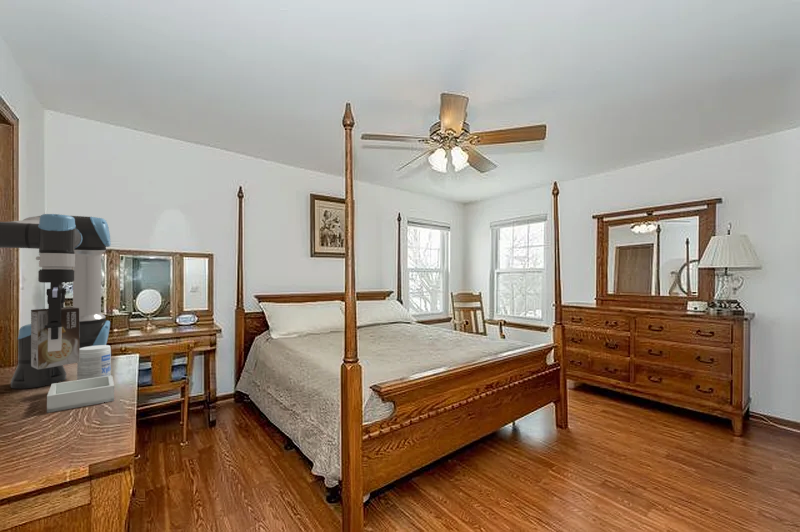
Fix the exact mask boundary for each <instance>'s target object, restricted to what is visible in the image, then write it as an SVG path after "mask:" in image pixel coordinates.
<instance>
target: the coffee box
mask: <svg viewBox="0 0 800 532" xmlns="http://www.w3.org/2000/svg"><path fill="white" fill-rule="evenodd" d="M47 323H48V308H37V309H36V308H35V309H31V310H30V324H31V366H32V367H34V368H36V369H44V368H50V367H56V366H61V365H63V366H65V365H67V366H68V365H72V364H77V363H79V362H80V339H79V336H80V334H79V308H75V307H73V306H69V307H64V308H62V309H61V327H62V340H61V351H51V352H48V328H45V325H47Z"/></svg>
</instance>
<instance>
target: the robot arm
mask: <svg viewBox="0 0 800 532" xmlns="http://www.w3.org/2000/svg"><path fill="white" fill-rule="evenodd" d="M111 243H112V242H111V233H110V229H109V225H108V222H107V220H106V219H104V218H102V217H98V216H97V217H96V216H85V215H83V216H81V215H80V216H79V215H66V214H60V213H58V214H56V213H43V214H41V215H37V216H29V217H26V218H24V219H23V220H14V221H0V248H2V249H35V250H36V249H38V256H36V257H35V260H36V261H38V267H39V268H40V269H39V270H38V272H37V273H38V278H37V279H38V282H39V283H45V284H47V283H50V286H49V287H50V288H47V289H46V293H45V294H46V297H47V299H46V302H47V304H48V308H47V309H48V323H47V325H45V328H48V352H51V351H61V340H62V327H61V309H62V308H65V307H64V305H65V303H66V295H67V288H64V285H63V283H72V307H75V308H79V334H80V336H79V339H80V348H83V347H88V346H96V345H107V343H108V339H109V335H110V328H111V321H110V320H108V319H107V320H106V317H107V316H106V315H105V314H103V313H102V255H103V254H105V252H106V251H107V248H108V247H111ZM17 344H18V345H17V348H18V349H17V354H18V355H17V367H16V368H15V371H14V373H13V375H12V377H11V380H10V388H11V389H17V390H19V389H22V390H23V389H31V388H32V389H34V388H40V387H45V385H46V386H51V385H50V384H54V383H57V382H58V383H61V382H64V381H65V380H66V379H67V371H66V370H65V367H64V365H61V366H56V367H50V368H44V369H36V368H34V367H32V366H31V323H29V324H26V325H23V326H21V327H20V328H19V329H18V337H17ZM63 380H64V381H63ZM60 381H61V382H60Z"/></svg>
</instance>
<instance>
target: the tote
mask: <svg viewBox="0 0 800 532" xmlns="http://www.w3.org/2000/svg"><path fill="white" fill-rule="evenodd" d="M113 376H114V375H113V374H112V375H109V376H102V377H95V378H88V379H81V380H69V381H61V382H58V383H54V384H51V385H50V387H49V389H48V392H47V395H46V414H48V413H54V412H60V411H64V410H70V409H71V410H73V409H76V408H81V407H86V406H87V407H88V406H94V405H98V404H105V403H110V402H114V401H115V382H114V377H113ZM104 402H105V403H104Z"/></svg>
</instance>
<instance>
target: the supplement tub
mask: <svg viewBox="0 0 800 532" xmlns="http://www.w3.org/2000/svg"><path fill="white" fill-rule="evenodd" d="M76 364H77V367H76V369H77V370H76V371H77V374H76V378H77V380H81V379H88V378H95V377H102V376H109V375H111V373H112V372H111V370H112V369H111V366H112V348H111V345H109V344H106V345H96V346H88V347H83V348H80V362H79V363H76Z"/></svg>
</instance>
